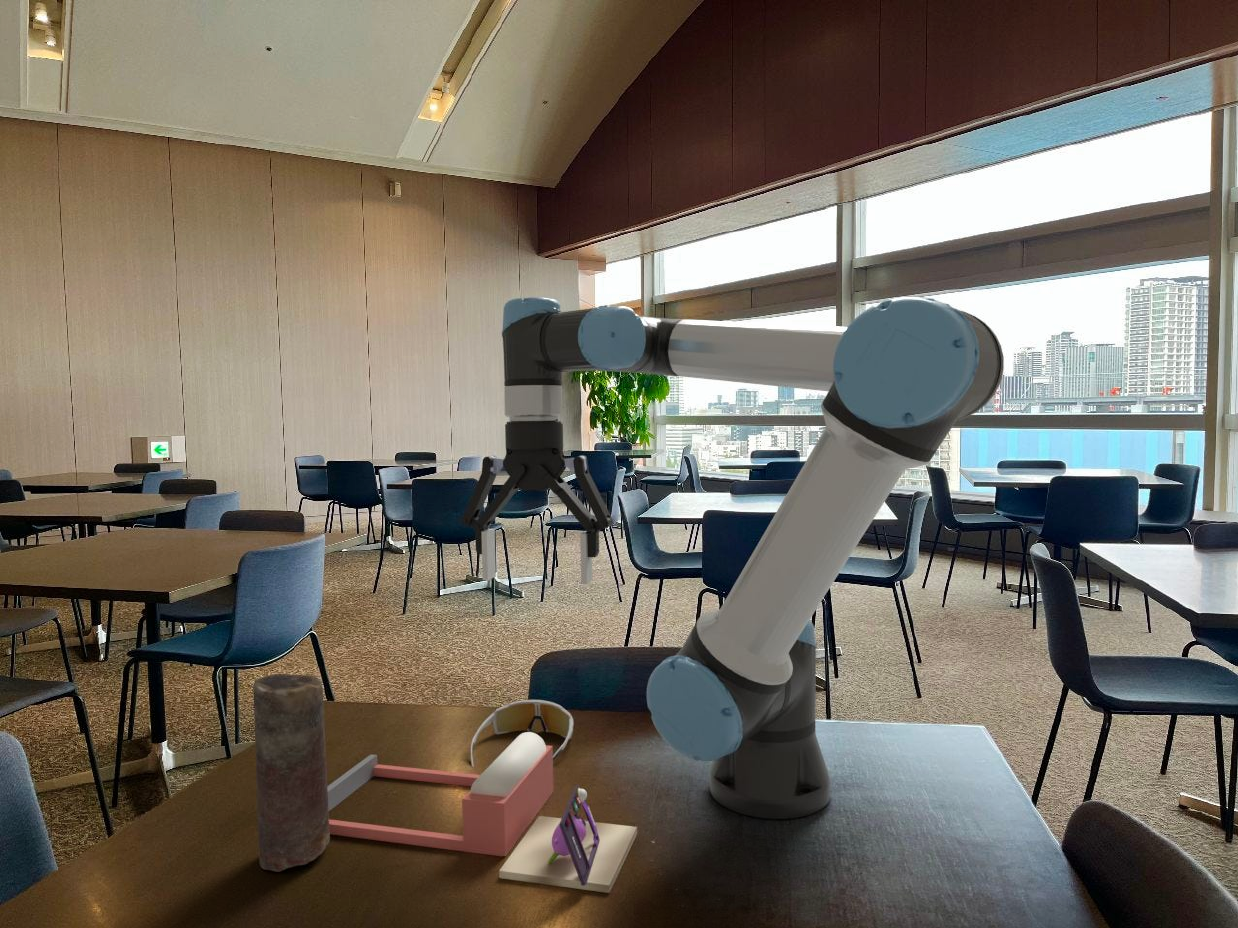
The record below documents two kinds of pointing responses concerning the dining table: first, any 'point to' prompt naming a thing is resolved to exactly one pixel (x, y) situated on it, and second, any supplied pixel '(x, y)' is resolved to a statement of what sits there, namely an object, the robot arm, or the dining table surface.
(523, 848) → the plate
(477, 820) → the frame
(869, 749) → the dining table surface
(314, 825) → the brown stone cylinder
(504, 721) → the sunglasses
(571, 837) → the purple toy
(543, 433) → the robot arm
